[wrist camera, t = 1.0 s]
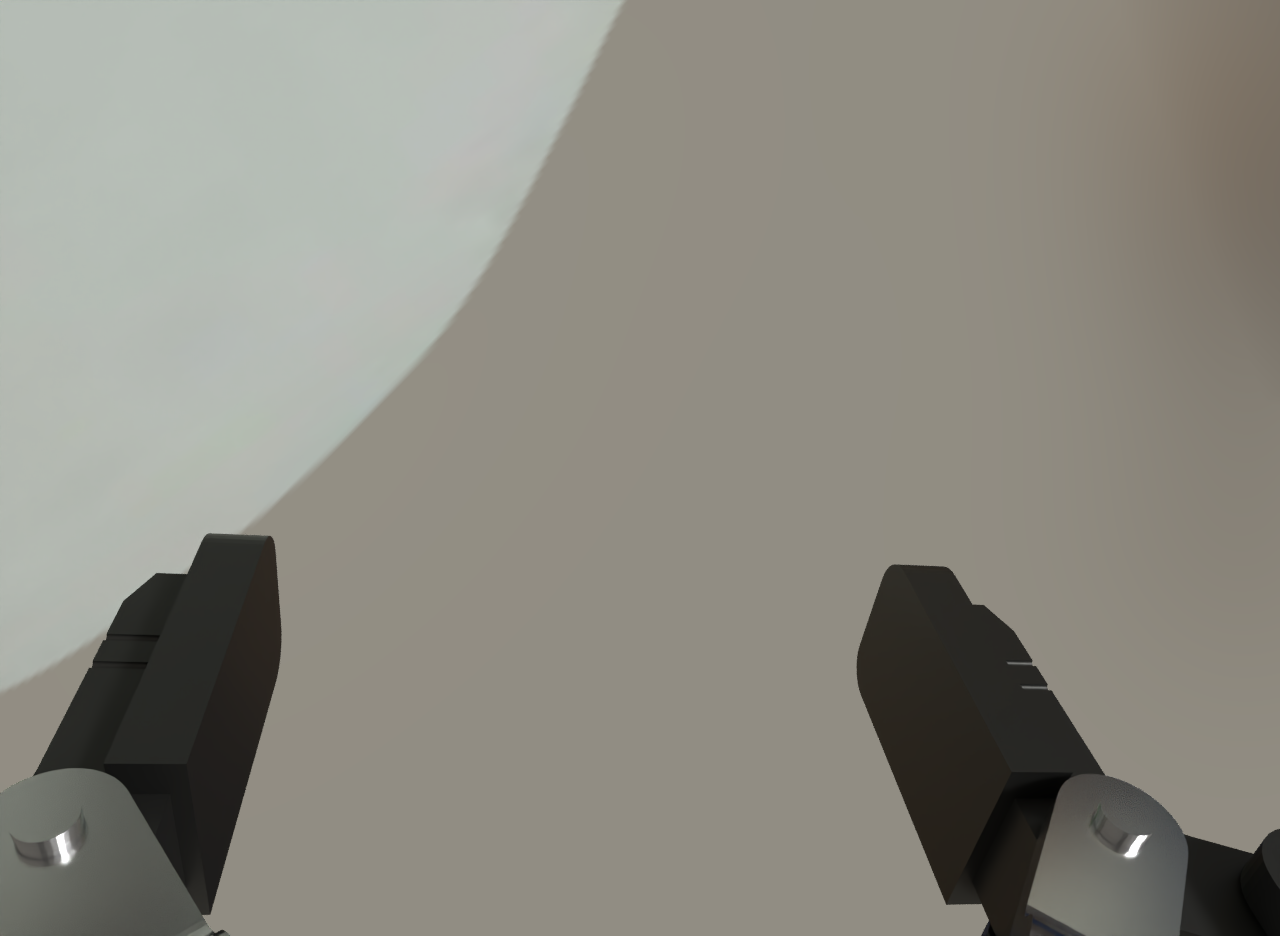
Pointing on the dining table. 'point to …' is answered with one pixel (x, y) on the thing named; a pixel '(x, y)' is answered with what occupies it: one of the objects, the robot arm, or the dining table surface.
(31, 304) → the dining table surface
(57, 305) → the dining table surface
